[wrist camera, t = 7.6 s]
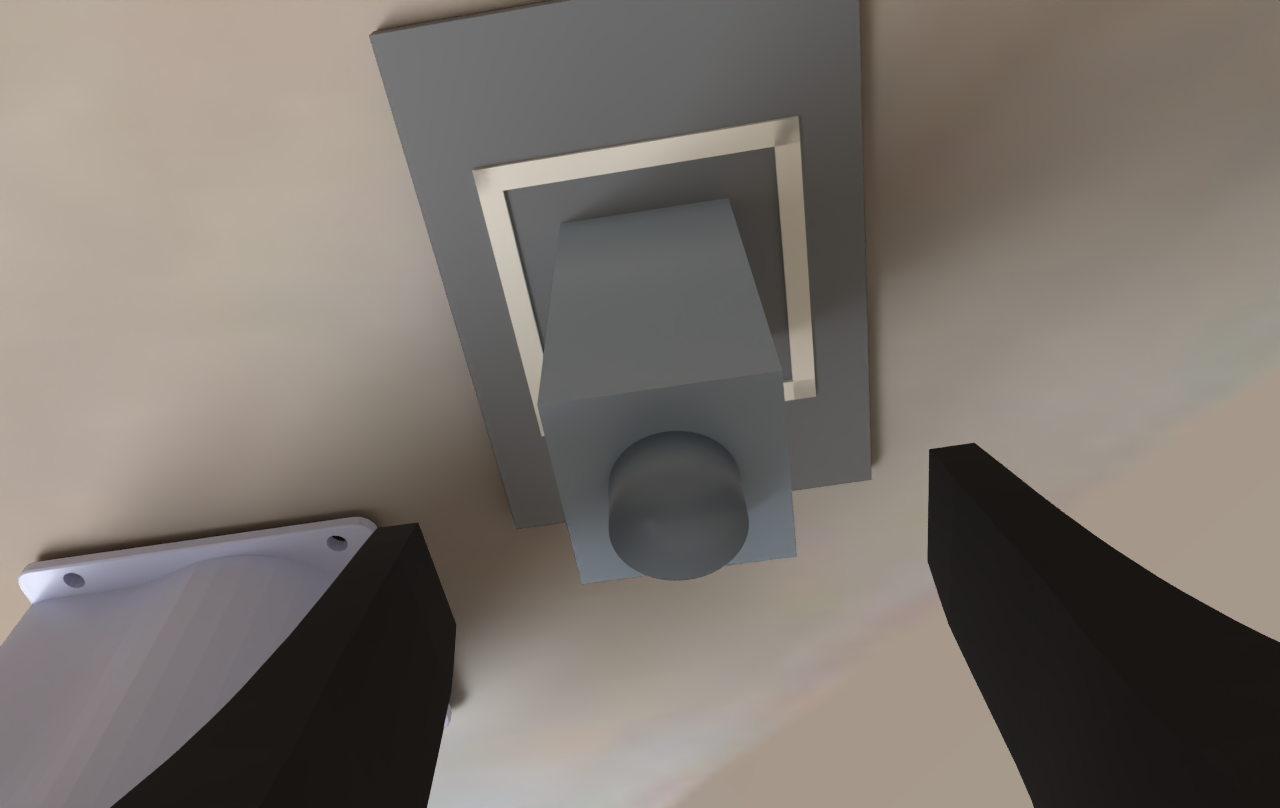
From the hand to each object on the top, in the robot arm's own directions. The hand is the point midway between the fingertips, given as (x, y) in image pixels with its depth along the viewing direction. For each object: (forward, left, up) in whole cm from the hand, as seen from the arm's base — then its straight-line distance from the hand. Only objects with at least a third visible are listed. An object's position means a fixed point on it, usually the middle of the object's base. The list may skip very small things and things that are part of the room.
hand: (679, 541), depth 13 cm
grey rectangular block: (0, 0, -8) cm, 8 cm away
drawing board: (0, 0, -9) cm, 9 cm away
